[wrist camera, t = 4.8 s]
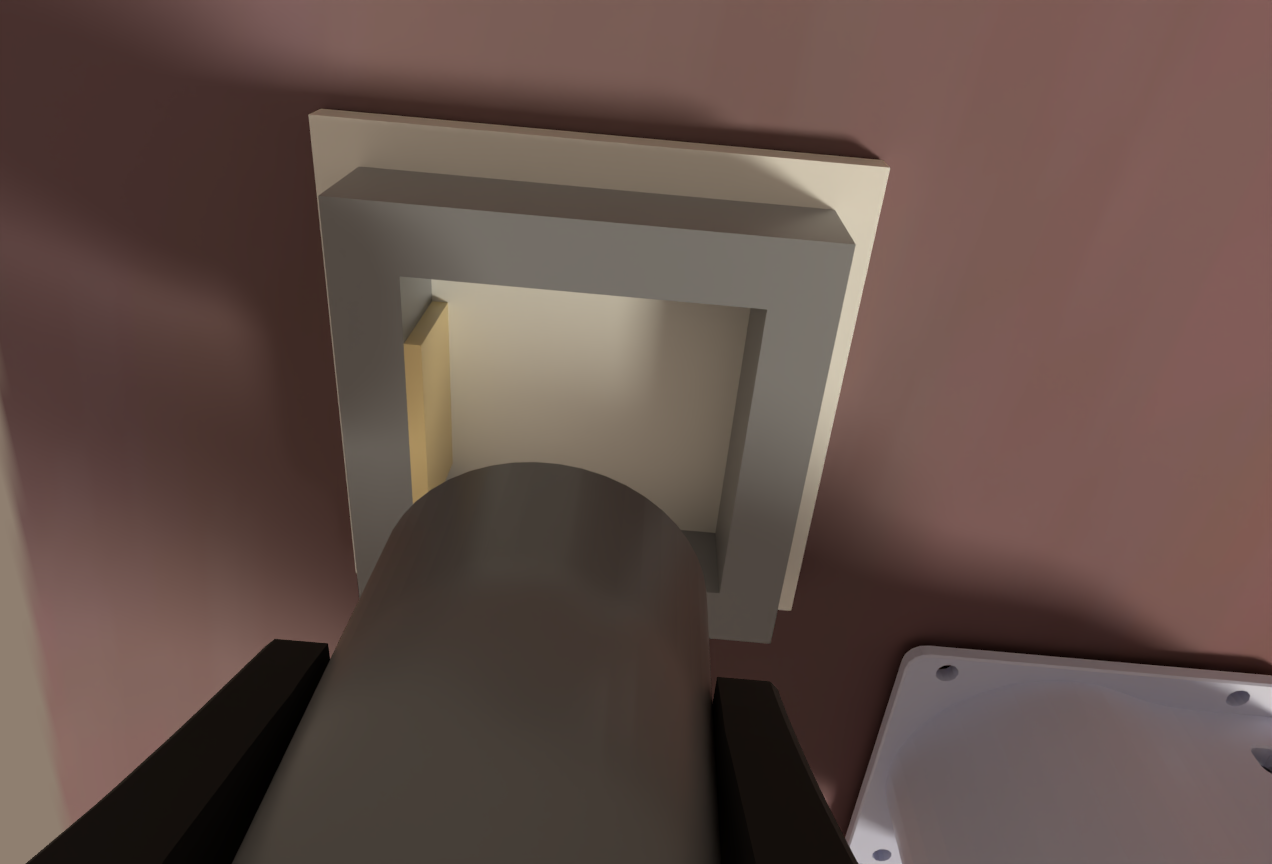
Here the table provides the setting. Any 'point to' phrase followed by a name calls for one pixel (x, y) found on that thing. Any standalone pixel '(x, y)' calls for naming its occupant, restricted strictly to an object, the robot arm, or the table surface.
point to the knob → (511, 690)
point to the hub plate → (595, 325)
